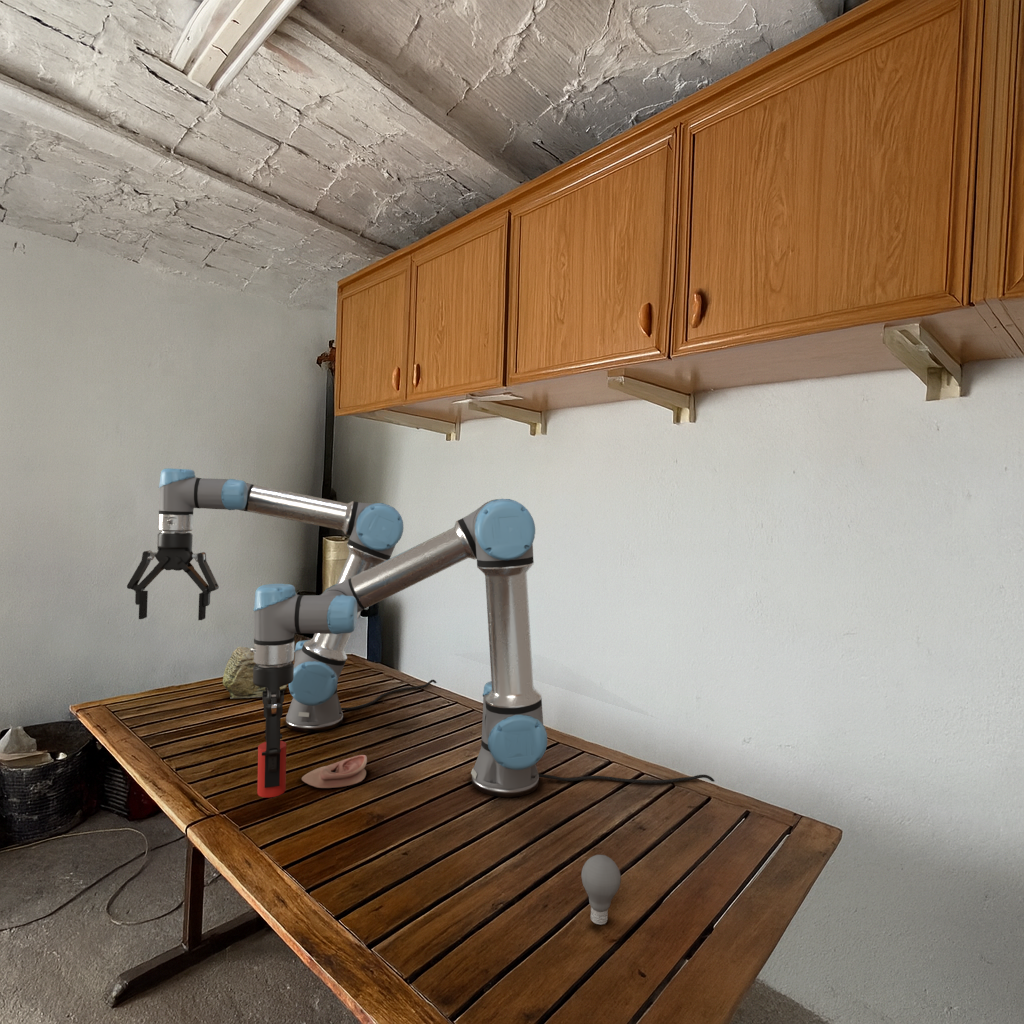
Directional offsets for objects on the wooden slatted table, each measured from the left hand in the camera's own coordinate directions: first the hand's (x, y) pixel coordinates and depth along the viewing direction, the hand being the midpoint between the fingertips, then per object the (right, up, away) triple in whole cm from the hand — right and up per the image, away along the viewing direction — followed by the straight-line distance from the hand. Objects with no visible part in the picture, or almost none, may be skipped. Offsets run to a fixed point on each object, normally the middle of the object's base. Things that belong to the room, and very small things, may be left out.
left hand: (172, 618), depth 155 cm
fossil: (+2, -31, +43) cm, 53 cm away
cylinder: (+35, -29, -29) cm, 54 cm away
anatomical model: (+43, -34, -12) cm, 56 cm away
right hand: (+35, -27, -29) cm, 53 cm away
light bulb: (+96, -37, -57) cm, 118 cm away
